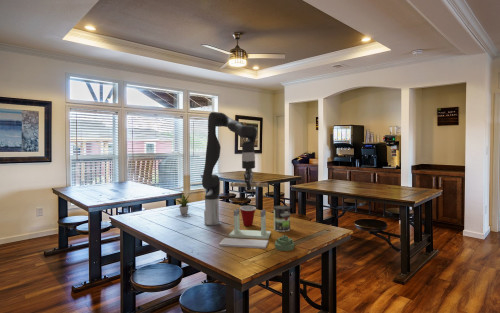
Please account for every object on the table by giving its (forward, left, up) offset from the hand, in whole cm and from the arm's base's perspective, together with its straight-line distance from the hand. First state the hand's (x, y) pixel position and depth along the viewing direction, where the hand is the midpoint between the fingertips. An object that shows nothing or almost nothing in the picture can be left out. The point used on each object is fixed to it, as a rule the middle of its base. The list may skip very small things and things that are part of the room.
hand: (249, 189), depth 173 cm
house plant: (-63, +46, -27) cm, 83 cm away
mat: (0, -15, -27) cm, 31 cm away
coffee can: (+17, +15, -27) cm, 36 cm away
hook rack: (0, 0, -27) cm, 27 cm away
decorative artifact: (+22, -16, -28) cm, 39 cm away
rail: (0, 0, +3) cm, 3 cm away
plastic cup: (-6, +21, -27) cm, 35 cm away
